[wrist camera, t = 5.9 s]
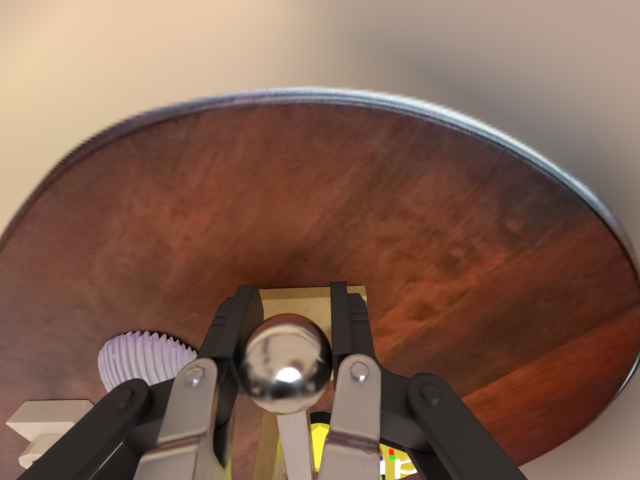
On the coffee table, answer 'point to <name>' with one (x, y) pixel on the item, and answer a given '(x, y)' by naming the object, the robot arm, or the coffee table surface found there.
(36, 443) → the button block
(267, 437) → the bracket
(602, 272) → the coffee table surface
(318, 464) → the game console
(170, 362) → the seashell
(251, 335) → the tap lever
